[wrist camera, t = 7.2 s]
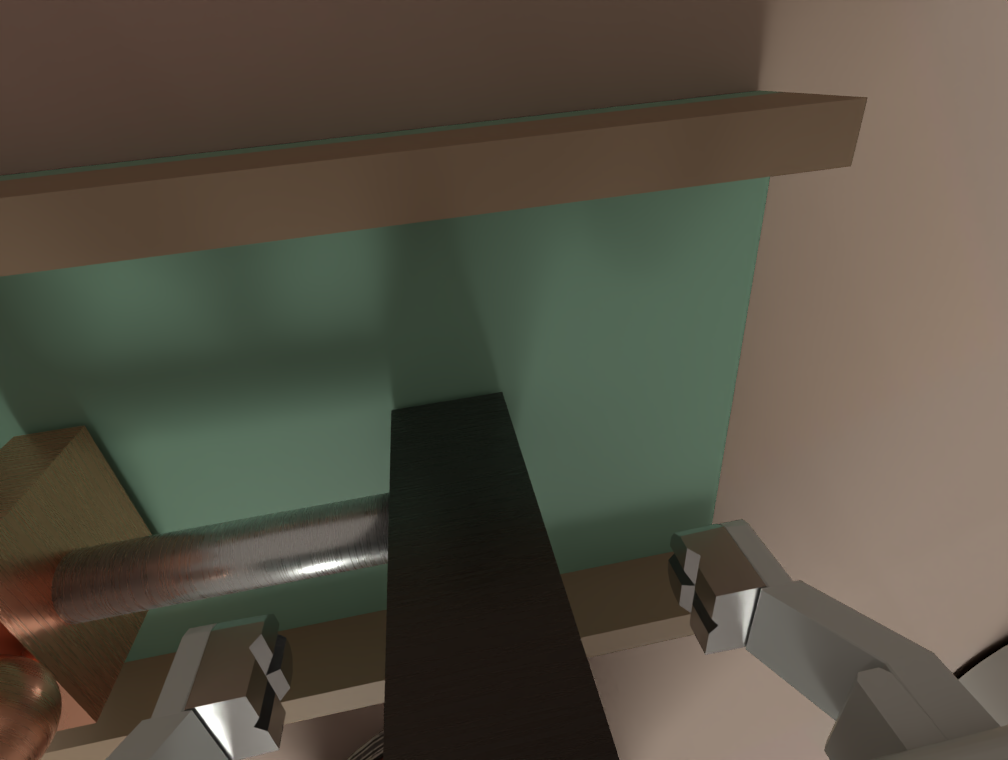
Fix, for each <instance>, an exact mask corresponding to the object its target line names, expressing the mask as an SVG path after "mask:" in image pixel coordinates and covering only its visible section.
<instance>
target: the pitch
mask: <svg viewBox="0 0 1008 760" xmlns="http://www.w3.org/2000/svg"><path fill="white" fill-rule="evenodd" d="M867 98H868V97H852V96H836V95H820V94H804V93H788V92H772V91H751V92H742V93H733V94H724V95H715V96H707V97H698V98H689V99H680V100H671V101H662V102H653V103H644V104H635V105H626V106H617V107H608V108H600V109H591V110H582V111H573V112H564V113H555V114H546V115H537V116H528V117H519V118H510V119H501V120H493V121H484V122H475V123H466V124H457V125H448V126H439V127H430V128H421V129H412V130H403V131H394V132H386V133H377V134H368V135H359V136H350V137H341V138H332V139H323V140H314V141H305V142H296V143H287V144H279V145H270V146H261V147H252V148H243V149H234V150H225V151H216V152H207V153H198V154H189V155H180V156H172V157H163V158H154V159H145V160H136V161H127V162H118V163H109V164H100V165H91V166H82V167H73V168H65V169H56V170H47V171H38V172H29V173H20V174H11V175H2V176H0V449H1V448H2V447H3V446H4V445H5V444H6V443H7V442H8V441H9V440H11V439H12V438H13V437H15V436H21V435H27V434H34V433H40V432H46V431H53V430H59V429H65V428H71V427H78V426H84V425H85V427H86V429H87V430H88V432H89V433H90V435H91V437H92V438H93V440H94V442H95V443H96V445H97V446H98V448H99V450H100V451H101V453H102V455H103V456H104V458H105V459H106V461H107V463H108V464H109V466H110V468H111V469H112V471H113V472H114V474H115V476H116V477H117V479H118V480H119V482H120V484H121V485H122V487H123V489H124V490H125V492H126V493H127V495H128V497H129V498H130V500H131V502H132V503H133V505H134V506H135V508H136V510H137V511H138V513H139V515H140V516H141V518H142V519H143V521H144V523H145V524H146V526H147V527H148V529H149V531H150V532H151V534H152V535H156V534H161V533H167V532H172V531H178V530H183V529H189V528H194V527H200V526H206V525H211V524H217V523H222V522H228V521H233V520H239V519H244V518H250V517H255V516H261V515H267V514H272V513H278V512H283V511H289V510H294V509H300V508H305V507H311V506H316V505H322V504H328V503H333V502H339V501H344V500H350V499H355V498H361V497H366V496H372V495H377V494H383V493H389V486H390V443H391V410H395V409H401V408H407V407H413V406H419V405H425V404H432V403H438V402H444V401H450V400H456V399H462V398H468V397H474V396H480V395H486V394H492V393H498V392H503V396H504V399H505V402H506V405H507V408H508V411H509V414H510V418H511V421H512V424H513V427H514V430H515V433H516V436H517V440H518V443H519V446H520V449H521V452H522V455H523V458H524V462H525V465H526V468H527V471H528V474H529V477H530V480H531V484H532V487H533V490H534V493H535V496H536V499H537V502H538V506H539V509H540V512H541V515H542V518H543V521H544V524H545V528H546V531H547V534H548V537H549V540H550V543H551V546H552V550H553V553H554V556H555V559H556V562H557V565H558V568H559V572H560V575H561V578H562V581H563V584H564V587H565V590H566V594H567V597H568V600H569V603H570V606H571V609H572V612H573V616H574V619H575V622H576V625H577V628H578V631H579V634H580V638H581V641H582V644H583V647H584V650H585V653H586V656H587V658H590V657H594V656H599V655H603V654H608V653H612V652H617V651H622V650H626V649H631V648H635V647H640V646H644V645H649V644H653V643H658V642H662V641H667V640H672V639H676V638H681V637H685V636H690V635H694V632H693V631H692V629H691V627H690V625H689V624H690V617H691V613H690V612H689V611H687V610H686V609H684V608H683V607H681V606H680V605H679V604H678V602H677V600H676V598H675V596H674V594H673V591H672V588H671V585H670V581H669V576H668V560H669V559H670V558H671V556H672V555H673V554H674V552H673V550H672V548H671V547H670V541H671V536H672V535H673V534H674V533H676V532H681V531H685V530H690V529H695V528H699V527H704V526H709V525H712V520H713V514H714V508H715V502H716V496H717V490H718V484H719V478H720V472H721V466H722V460H723V454H724V448H725V442H726V436H727V430H728V425H729V419H730V413H731V407H732V401H733V395H734V389H735V383H736V377H737V371H738V365H739V359H740V353H741V347H742V341H743V335H744V329H745V323H746V317H747V311H748V305H749V299H750V293H751V287H752V281H753V275H754V269H755V263H756V257H757V251H758V245H759V240H760V234H761V228H762V222H763V216H764V210H765V204H766V198H767V192H768V186H769V180H770V177H771V176H779V175H786V174H794V173H802V172H809V171H817V170H825V169H833V168H840V167H848V166H851V164H852V160H853V156H854V152H855V147H856V143H857V139H858V135H859V131H860V127H861V123H862V118H863V114H864V110H865V106H866V102H867ZM387 571H388V564H382V565H377V566H372V567H367V568H362V569H357V570H351V571H346V572H341V573H336V574H331V575H326V576H320V577H315V578H310V579H305V580H300V581H295V582H289V583H284V584H279V585H274V586H269V587H264V588H258V589H253V590H248V591H243V592H238V593H233V594H228V595H222V596H217V597H212V598H207V599H202V600H197V601H191V602H186V603H181V604H176V605H171V606H166V607H160V608H155V609H150V610H148V612H147V615H146V617H145V619H144V621H143V623H142V625H141V628H140V630H139V632H138V634H137V636H136V638H135V641H134V643H133V645H132V647H131V649H130V651H129V654H128V656H127V658H126V660H125V662H124V664H123V666H122V669H121V671H120V673H119V675H118V677H117V679H116V682H115V684H114V686H113V688H112V690H111V692H110V695H109V697H108V699H107V701H106V703H105V705H104V708H103V710H102V712H101V714H100V716H99V718H98V721H97V723H94V724H89V725H84V726H80V727H75V728H70V729H65V730H61V731H56V734H55V736H54V738H53V740H52V742H51V744H50V745H49V747H48V749H47V750H46V752H45V754H44V755H43V756H42V758H41V759H40V760H105V759H106V758H107V757H108V756H109V755H110V754H111V753H112V752H113V751H114V750H115V749H116V748H117V747H118V746H119V744H120V743H121V742H122V741H123V740H124V739H125V738H126V737H127V736H128V735H129V734H130V733H131V732H132V731H133V730H134V728H135V727H136V726H137V725H138V724H139V723H140V722H141V721H142V720H146V719H150V718H151V716H152V714H153V711H154V709H155V706H156V703H157V701H158V698H159V696H160V693H161V691H162V688H163V685H164V683H165V680H166V678H167V675H168V673H169V670H170V667H171V665H172V662H173V660H174V657H175V654H176V652H177V649H178V647H179V644H180V642H181V639H182V637H183V636H184V634H185V633H186V632H187V631H188V630H189V628H194V627H199V626H205V625H210V624H215V623H221V622H227V621H232V620H238V619H244V618H250V617H256V616H262V615H267V614H274V615H275V617H276V619H277V620H278V622H279V629H278V633H277V634H280V635H282V636H284V637H286V638H287V640H288V642H289V644H290V647H291V651H292V656H293V674H292V681H291V687H290V689H289V690H288V692H287V693H286V694H285V696H284V697H283V698H282V700H281V701H280V702H281V704H282V706H283V707H284V709H285V711H286V715H285V721H284V725H285V724H290V723H294V722H299V721H303V720H308V719H312V718H317V717H322V716H326V715H331V714H335V713H340V712H344V711H349V710H353V709H358V708H362V707H367V706H372V705H376V704H381V703H384V699H385V656H386V614H387Z"/></svg>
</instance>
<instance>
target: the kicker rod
mask: <svg viewBox="0 0 1008 760" xmlns="http://www.w3.org/2000/svg"><path fill="white" fill-rule="evenodd" d="M382 564H388V571H387V614H386V656H385V699H384V742H383V760H619V757H618V754H617V751H616V747H615V744H614V741H613V738H612V735H611V732H610V729H609V725H608V722H607V719H606V716H605V713H604V710H603V707H602V703H601V700H600V697H599V694H598V691H597V688H596V685H595V681H594V678H593V675H592V672H591V669H590V666H589V663H588V659H587V656H586V653H585V650H584V647H583V644H582V641H581V638H580V634H579V631H578V628H577V625H576V622H575V619H574V616H573V612H572V609H571V606H570V603H569V600H568V597H567V594H566V590H565V587H564V584H563V581H562V578H561V575H560V572H559V568H558V565H557V562H556V559H555V556H554V553H553V550H552V546H551V543H550V540H549V537H548V534H547V531H546V528H545V524H544V521H543V518H542V515H541V512H540V509H539V506H538V502H537V499H536V496H535V493H534V490H533V487H532V484H531V480H530V477H529V474H528V471H527V468H526V465H525V462H524V458H523V455H522V452H521V449H520V446H519V443H518V440H517V436H516V433H515V430H514V427H513V424H512V421H511V418H510V414H509V411H508V408H507V405H506V402H505V399H504V396H503V392H498V393H492V394H486V395H480V396H474V397H468V398H462V399H456V400H450V401H444V402H438V403H432V404H425V405H419V406H413V407H407V408H401V409H395V410H391V443H390V486H389V493H383V494H377V495H372V496H366V497H361V498H355V499H350V500H344V501H339V502H333V503H328V504H322V505H316V506H311V507H305V508H300V509H294V510H289V511H283V512H278V513H272V514H267V515H261V516H255V517H250V518H244V519H239V520H233V521H228V522H222V523H217V524H211V525H206V526H200V527H194V528H189V529H183V530H178V531H172V532H167V533H161V534H156V535H152V534H151V532H150V531H149V529H148V527H147V526H146V524H145V523H144V521H143V519H142V518H141V516H140V515H139V513H138V511H137V510H136V508H135V506H134V505H133V503H132V502H131V500H130V498H129V497H128V495H127V493H126V492H125V490H124V489H123V487H122V485H121V484H120V482H119V480H118V479H117V477H116V476H115V474H114V472H113V471H112V469H111V468H110V466H109V464H108V463H107V461H106V459H105V458H104V456H103V455H102V453H101V451H100V450H99V448H98V446H97V445H96V443H95V442H94V440H93V438H92V437H91V435H90V433H89V432H88V430H87V429H86V427H85V425H84V426H78V427H71V428H65V429H59V430H53V431H46V432H40V433H34V434H27V435H21V436H15V437H13V438H12V439H11V440H9V441H8V442H7V443H6V444H5V445H4V446H3V447H2V448H1V449H0V760H40V759H41V758H42V756H43V755H44V754H45V752H46V750H47V749H48V747H49V745H50V744H51V742H52V740H53V738H54V736H55V734H56V731H61V730H65V729H70V728H75V727H80V726H84V725H89V724H94V723H97V721H98V718H99V716H100V714H101V712H102V710H103V708H104V705H105V703H106V701H107V699H108V697H109V695H110V692H111V690H112V688H113V686H114V684H115V682H116V679H117V677H118V675H119V673H120V671H121V669H122V666H123V664H124V662H125V660H126V658H127V656H128V654H129V651H130V649H131V647H132V645H133V643H134V641H135V638H136V636H137V634H138V632H139V630H140V628H141V625H142V623H143V621H144V619H145V617H146V615H147V612H148V610H150V609H155V608H160V607H166V606H171V605H176V604H181V603H186V602H191V601H197V600H202V599H207V598H212V597H217V596H222V595H228V594H233V593H238V592H243V591H248V590H253V589H258V588H264V587H269V586H274V585H279V584H284V583H289V582H295V581H300V580H305V579H310V578H315V577H320V576H326V575H331V574H336V573H341V572H346V571H351V570H357V569H362V568H367V567H372V566H377V565H382Z"/></svg>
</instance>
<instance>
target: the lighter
mask: <svg viewBox="0 0 1008 760" xmlns="http://www.w3.org/2000/svg"><path fill="white" fill-rule="evenodd" d="M383 742H384V731H382V732H381V733H379V734H378V735H376V736H374V737H373V738H372V739H371V740H369V741H368V742H367V743H366V744H364V745H363V746H362V747H361V748H360V749H358V750H357V751H356V752H355V753H353V754H352V755H351V756H350V757H349V758H348V760H383Z"/></svg>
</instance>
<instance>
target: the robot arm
mask: <svg viewBox="0 0 1008 760" xmlns="http://www.w3.org/2000/svg"><path fill="white" fill-rule="evenodd" d="M670 547H671V548H672V550H673V552H674V554H673V555H672V556H671V558H670V559H669V560H668V576H669V581H670V585H671V588H672V591H673V594H674V596H675V598H676V600H677V602H678V604H679V605H680V606H681V607H683V608H684V609H686V610H687V611H689V612H690V613H691V617H690V624H689V625H690V627H691V629H692V631H693V632H694V634H695V636H696V638H697V640H698V642H699V644H700V646H701V648H702V649H703V651H704V653H705V655H706V654H711V653H716V652H721V651H727V650H732V649H737V648H742V647H746V650H747V651H749V652H750V653H751V654H752V655H754V656H755V657H756V658H757V659H759V660H760V661H761V662H762V663H764V664H765V665H766V666H767V667H769V668H770V669H771V670H772V671H774V672H775V673H776V674H777V675H779V676H780V677H781V678H783V679H784V680H785V681H786V682H788V683H789V684H790V685H791V686H793V687H794V688H795V689H796V690H798V691H799V692H800V693H801V694H803V695H804V696H805V697H806V698H808V699H809V700H810V701H811V702H813V703H814V704H815V705H816V706H818V707H819V708H820V709H822V710H823V711H824V712H825V713H827V714H828V715H829V716H830V717H832V718H833V719H834V720H835V721H836V722H835V724H834V726H833V728H832V731H831V733H830V735H829V737H828V739H827V742H826V745H825V749H824V751H825V752H826V754H827V756H828V757H829V759H830V760H1008V645H1006V646H1005V647H1003V648H1001V649H1000V650H998V651H997V652H995V653H993V654H992V655H990V656H989V657H987V658H986V659H984V660H983V661H982V662H980V663H979V664H977V665H976V666H975V667H973V668H972V669H971V670H969V671H968V672H967V673H966V674H964V675H963V676H962V677H961V678H960V679H957V678H956V677H955V676H954V675H953V674H952V672H951V671H950V670H949V669H948V668H947V667H946V666H945V665H944V664H943V663H942V662H941V660H940V659H939V658H938V657H937V656H936V655H935V654H934V653H933V652H931V651H929V650H927V649H926V648H924V647H922V646H920V645H918V644H916V643H915V642H913V641H911V640H909V639H907V638H905V637H903V636H902V635H900V634H898V633H896V632H894V631H892V630H891V629H889V628H887V627H885V626H883V625H881V624H880V623H878V622H876V621H874V620H872V619H870V618H869V617H867V616H865V615H863V614H861V613H859V612H858V611H856V610H854V609H852V608H850V607H848V606H847V605H845V604H843V603H841V602H839V601H837V600H836V599H834V598H832V597H830V596H828V595H826V594H825V593H823V592H821V591H819V590H817V589H815V588H814V587H812V586H810V585H808V584H806V583H804V582H803V581H801V580H799V581H793V580H792V579H791V578H790V576H789V575H788V574H787V573H786V571H785V570H784V569H783V567H782V566H781V565H780V564H779V562H778V561H777V560H776V558H775V557H774V556H773V555H772V553H771V552H770V551H769V549H768V548H767V547H766V546H765V544H764V543H763V542H762V540H761V539H760V538H759V537H758V535H757V534H756V533H755V531H754V530H753V529H752V528H751V526H750V525H749V524H748V523H747V522H746V521H744V520H743V519H741V520H736V521H731V522H726V523H721V524H713V525H709V526H704V527H699V528H695V529H690V530H685V531H681V532H676V533H674V534H673V535H672V536H671V541H670ZM278 629H279V622H278V620H277V619H276V617H275V615H274V614H267V615H262V616H256V617H250V618H244V619H238V620H232V621H227V622H221V623H215V624H210V625H205V626H199V627H194V628H189V630H188V631H187V632H186V633H185V634H184V636H183V637H182V639H181V642H180V644H179V647H178V649H177V652H176V654H175V657H174V660H173V662H172V665H171V667H170V670H169V673H168V675H167V678H166V680H165V683H164V685H163V688H162V691H161V693H160V696H159V698H158V701H157V703H156V706H155V709H154V711H153V714H152V716H151V718H150V719H146V720H142V721H141V722H140V723H139V724H138V725H137V726H136V727H135V728H134V730H133V731H132V732H131V733H130V734H129V735H128V736H127V737H126V738H125V739H124V740H123V741H122V742H121V743H120V744H119V746H118V747H117V748H116V749H115V750H114V751H113V752H112V753H111V754H110V755H109V756H108V757H107V758H106V759H105V760H241V759H245V758H249V757H253V756H257V755H261V754H265V753H269V752H273V751H277V750H279V748H280V743H281V737H282V732H283V726H284V721H285V715H286V711H285V709H284V707H283V706H282V704H281V702H280V701H281V700H282V698H283V697H284V696H285V694H286V693H287V692H288V690H289V689H290V687H291V681H292V674H293V656H292V651H291V647H290V644H289V642H288V640H287V638H286V637H284V636H282V635H280V634H277V633H278Z"/></svg>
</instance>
